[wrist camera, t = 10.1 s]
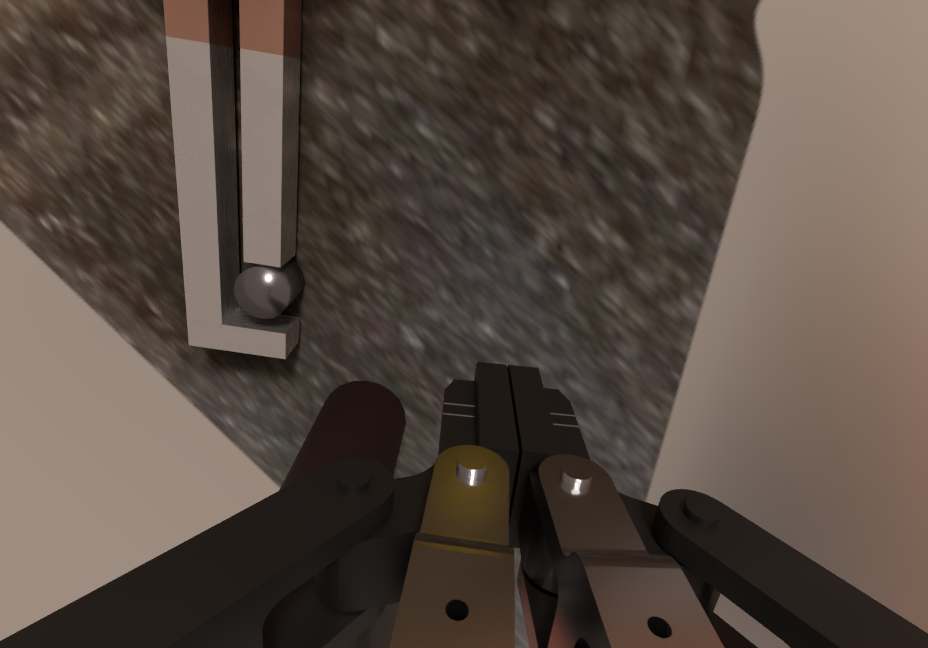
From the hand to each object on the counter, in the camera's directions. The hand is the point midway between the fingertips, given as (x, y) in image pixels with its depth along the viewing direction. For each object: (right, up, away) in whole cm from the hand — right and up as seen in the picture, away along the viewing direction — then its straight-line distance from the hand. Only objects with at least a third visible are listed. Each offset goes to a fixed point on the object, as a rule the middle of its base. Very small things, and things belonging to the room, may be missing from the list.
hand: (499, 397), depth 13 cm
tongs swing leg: (-13, +13, +21) cm, 28 cm away
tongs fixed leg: (-15, +12, +22) cm, 29 cm away
